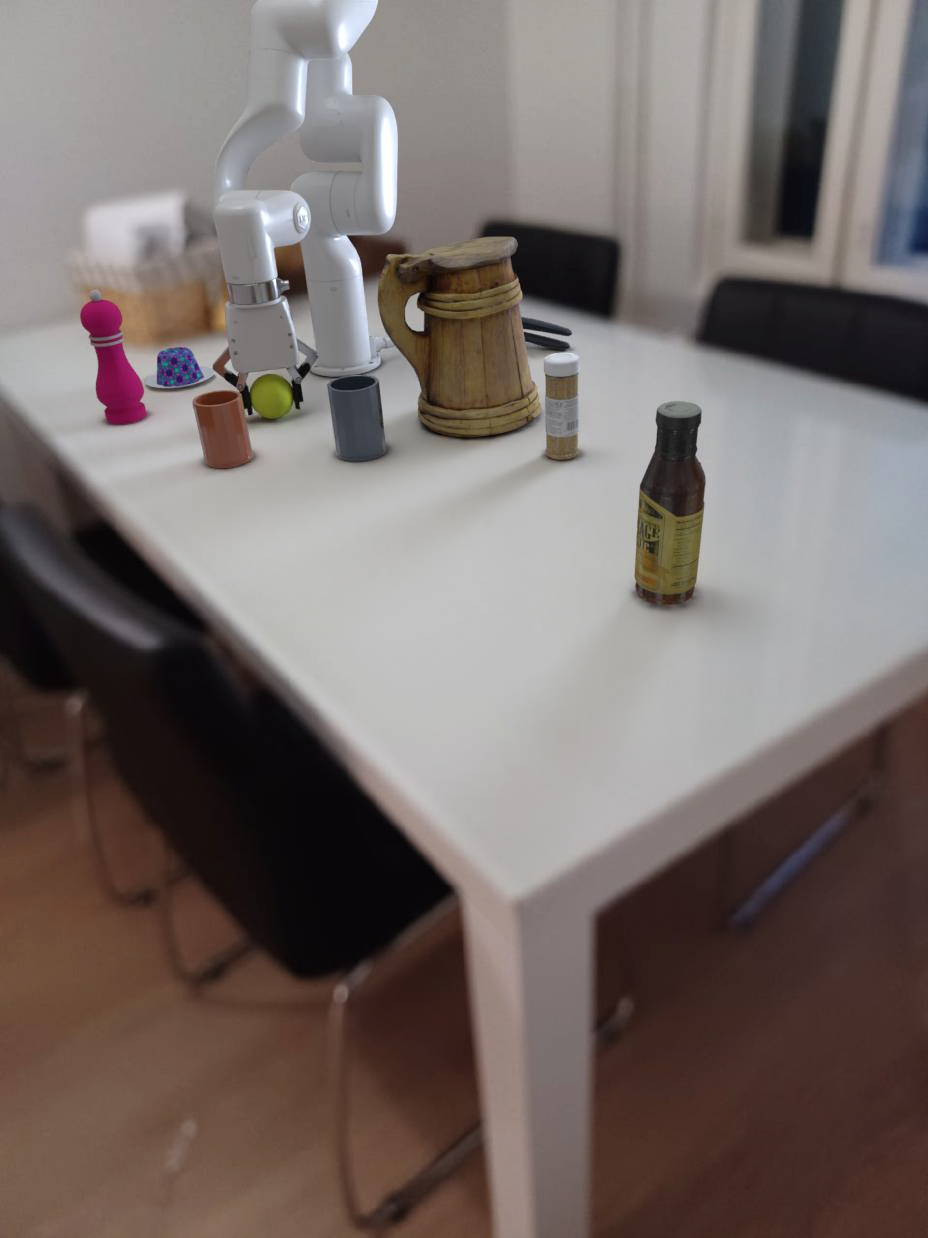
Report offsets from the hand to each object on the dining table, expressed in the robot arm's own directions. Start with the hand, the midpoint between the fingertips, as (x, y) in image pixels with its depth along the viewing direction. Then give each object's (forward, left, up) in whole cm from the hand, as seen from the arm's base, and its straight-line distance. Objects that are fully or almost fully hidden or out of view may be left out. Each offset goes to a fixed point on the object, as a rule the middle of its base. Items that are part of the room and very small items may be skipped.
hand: (273, 408), depth 149 cm
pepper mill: (+19, -16, -1) cm, 25 cm away
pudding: (+6, -29, -1) cm, 30 cm away
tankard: (-22, +21, -1) cm, 30 cm away
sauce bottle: (-11, +77, -1) cm, 78 cm away
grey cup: (-4, +22, -1) cm, 22 cm away
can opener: (-51, -4, -1) cm, 51 cm away
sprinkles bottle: (-25, +41, -1) cm, 48 cm away
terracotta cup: (+12, +12, -1) cm, 17 cm away
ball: (0, 0, +2) cm, 2 cm away
